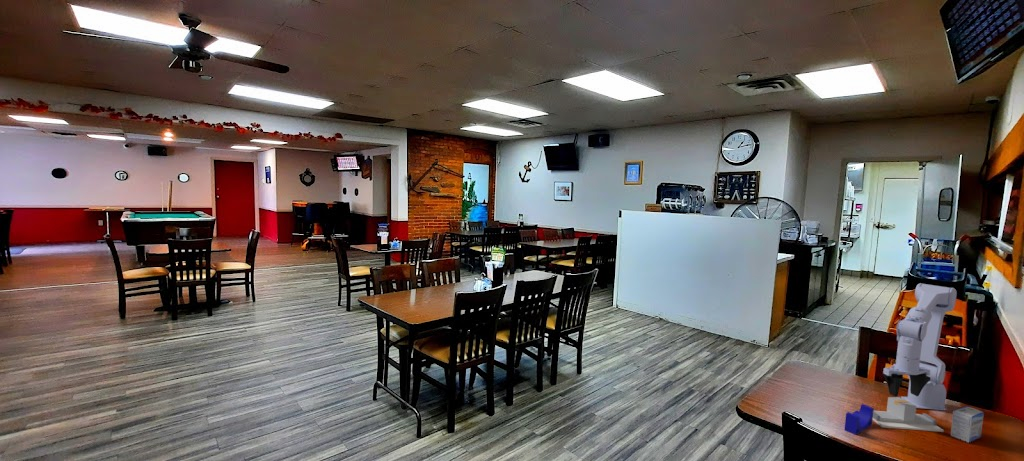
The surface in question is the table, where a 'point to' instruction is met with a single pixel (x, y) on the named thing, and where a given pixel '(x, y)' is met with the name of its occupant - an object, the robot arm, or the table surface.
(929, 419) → the rail board
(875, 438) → the table surface
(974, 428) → the medicine box
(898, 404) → the block
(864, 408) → the cable clip
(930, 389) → the robot arm
